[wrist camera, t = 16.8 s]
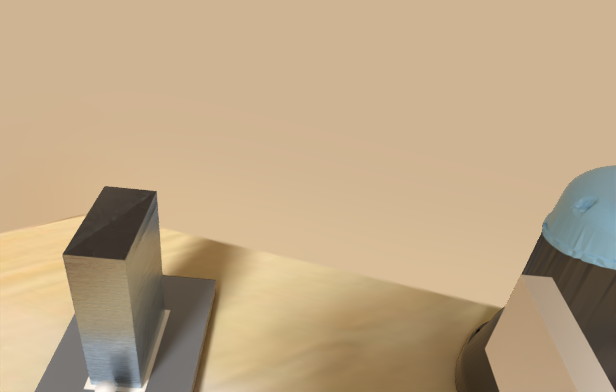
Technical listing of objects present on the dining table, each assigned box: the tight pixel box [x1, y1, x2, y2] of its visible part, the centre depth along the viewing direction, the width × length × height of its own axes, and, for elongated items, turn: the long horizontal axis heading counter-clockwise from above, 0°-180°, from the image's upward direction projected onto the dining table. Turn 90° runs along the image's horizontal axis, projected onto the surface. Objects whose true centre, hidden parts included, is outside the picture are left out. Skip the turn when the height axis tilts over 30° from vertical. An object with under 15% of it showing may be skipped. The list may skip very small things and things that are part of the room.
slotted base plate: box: [35, 275, 216, 392], centre depth 44 cm, size 12×18×4 cm, turn 179°
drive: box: [63, 186, 165, 388], centre depth 40 cm, size 4×8×14 cm, turn 179°
